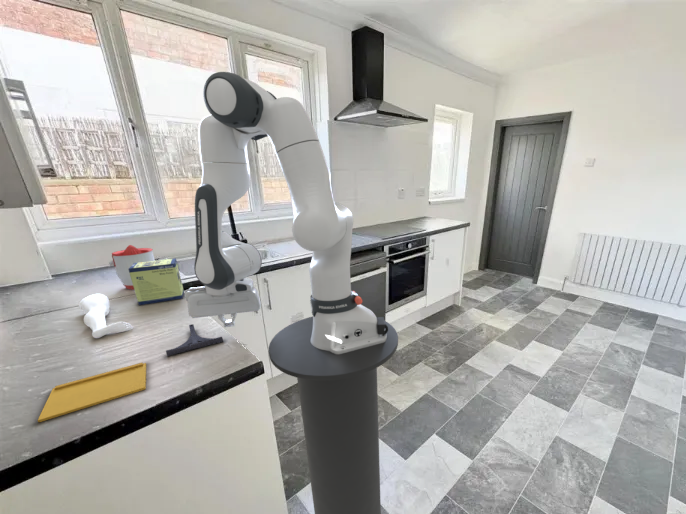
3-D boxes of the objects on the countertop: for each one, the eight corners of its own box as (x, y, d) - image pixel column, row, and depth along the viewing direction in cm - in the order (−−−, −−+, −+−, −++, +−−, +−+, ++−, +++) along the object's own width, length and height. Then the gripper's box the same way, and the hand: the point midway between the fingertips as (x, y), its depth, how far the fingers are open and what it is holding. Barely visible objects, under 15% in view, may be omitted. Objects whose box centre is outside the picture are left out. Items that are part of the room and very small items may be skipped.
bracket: (216, 325, 106) (215, 317, 105) (223, 342, 94) (221, 334, 93) (166, 337, 98) (164, 329, 97) (167, 357, 87) (164, 349, 86)
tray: (146, 364, 83) (145, 361, 83) (145, 389, 73) (144, 385, 73) (53, 390, 74) (52, 386, 73) (38, 422, 64) (36, 418, 63)
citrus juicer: (116, 286, 148) (102, 245, 141) (159, 279, 158) (149, 240, 151) (116, 295, 136) (102, 250, 130) (163, 286, 147) (152, 244, 140)
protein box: (183, 298, 131) (174, 263, 126) (138, 305, 124) (127, 268, 119) (184, 291, 140) (176, 257, 134) (142, 297, 133) (132, 262, 127)
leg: (108, 288, 123) (72, 295, 116) (129, 316, 102) (87, 327, 95) (113, 303, 126) (78, 311, 118) (135, 334, 105) (94, 346, 97)
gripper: (179, 291, 88) (190, 335, 93) (255, 285, 93) (262, 326, 98) (186, 285, 94) (196, 326, 98) (257, 278, 99) (263, 318, 104)
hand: (229, 326), depth 98 cm, fingers closed
